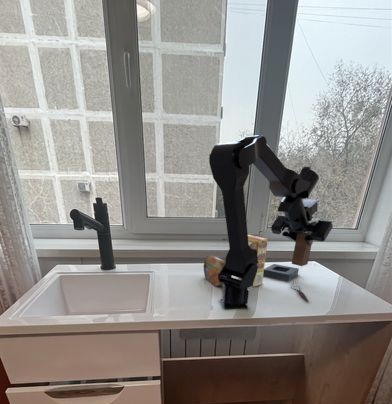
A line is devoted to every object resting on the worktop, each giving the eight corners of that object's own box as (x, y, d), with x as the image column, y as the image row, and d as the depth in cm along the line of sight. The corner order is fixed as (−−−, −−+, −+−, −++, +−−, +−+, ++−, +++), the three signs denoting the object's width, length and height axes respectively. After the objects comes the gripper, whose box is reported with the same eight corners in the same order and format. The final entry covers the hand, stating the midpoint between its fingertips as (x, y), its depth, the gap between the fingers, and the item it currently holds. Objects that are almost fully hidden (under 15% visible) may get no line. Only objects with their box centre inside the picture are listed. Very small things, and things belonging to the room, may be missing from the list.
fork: (302, 302, 85) (304, 296, 84) (289, 284, 99) (290, 279, 98) (311, 303, 85) (313, 296, 84) (296, 284, 99) (297, 279, 98)
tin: (202, 275, 105) (203, 252, 101) (210, 275, 106) (211, 252, 102) (219, 289, 93) (221, 264, 89) (228, 288, 94) (230, 263, 90)
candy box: (262, 284, 98) (268, 238, 90) (253, 287, 96) (259, 239, 88) (245, 277, 104) (249, 234, 97) (236, 279, 102) (240, 235, 95)
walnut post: (301, 266, 98) (309, 226, 92) (291, 263, 101) (298, 224, 95) (307, 264, 101) (315, 225, 94) (297, 262, 103) (304, 223, 97)
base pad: (288, 281, 101) (289, 274, 100) (262, 276, 106) (263, 269, 105) (297, 274, 109) (298, 268, 107) (272, 270, 114) (273, 263, 112)
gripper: (338, 191, 81) (344, 228, 93) (281, 188, 93) (292, 221, 105) (319, 223, 80) (327, 256, 92) (263, 216, 92) (277, 246, 104)
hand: (305, 243), depth 98 cm, fingers closed on walnut post, 4 cm apart
